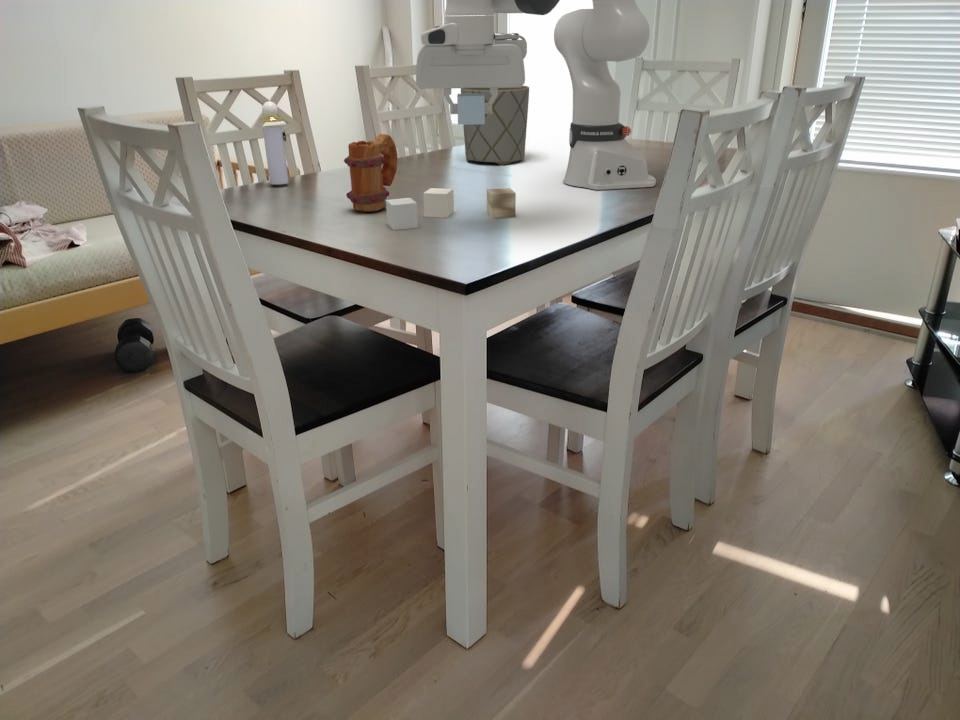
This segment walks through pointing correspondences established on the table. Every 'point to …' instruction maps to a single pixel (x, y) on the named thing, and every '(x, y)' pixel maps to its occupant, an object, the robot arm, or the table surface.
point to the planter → (499, 127)
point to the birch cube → (501, 203)
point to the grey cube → (402, 213)
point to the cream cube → (438, 202)
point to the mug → (371, 172)
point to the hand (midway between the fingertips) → (471, 113)
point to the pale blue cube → (471, 109)
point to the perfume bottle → (274, 145)
